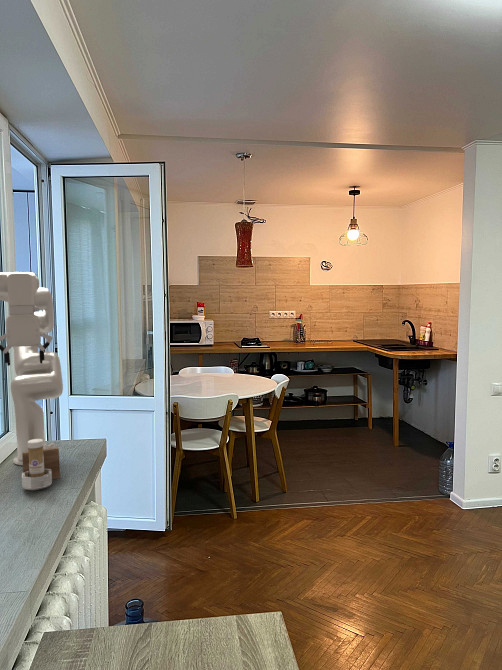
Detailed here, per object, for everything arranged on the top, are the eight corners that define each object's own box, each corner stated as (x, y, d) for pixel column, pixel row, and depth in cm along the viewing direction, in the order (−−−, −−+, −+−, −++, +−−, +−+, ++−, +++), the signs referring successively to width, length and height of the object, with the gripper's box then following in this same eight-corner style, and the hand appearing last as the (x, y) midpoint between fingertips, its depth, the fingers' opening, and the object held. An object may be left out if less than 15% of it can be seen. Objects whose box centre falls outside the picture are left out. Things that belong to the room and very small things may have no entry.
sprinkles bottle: (30, 485, 162) (27, 443, 161) (29, 481, 166) (27, 439, 165) (46, 483, 164) (43, 441, 163) (45, 478, 168) (42, 437, 167)
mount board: (60, 477, 174) (58, 448, 173) (24, 483, 170) (22, 453, 169) (59, 472, 179) (57, 443, 178) (24, 477, 175) (22, 448, 174)
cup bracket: (52, 487, 163) (51, 469, 162) (22, 492, 160) (21, 473, 159) (51, 476, 173) (50, 458, 172) (22, 480, 170) (21, 462, 169)
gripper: (50, 309, 175) (53, 360, 177) (-8, 311, 169) (-4, 364, 170) (51, 310, 168) (54, 363, 170) (-9, 312, 162) (-6, 367, 163)
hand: (25, 364), depth 170 cm, fingers open, 9 cm apart
